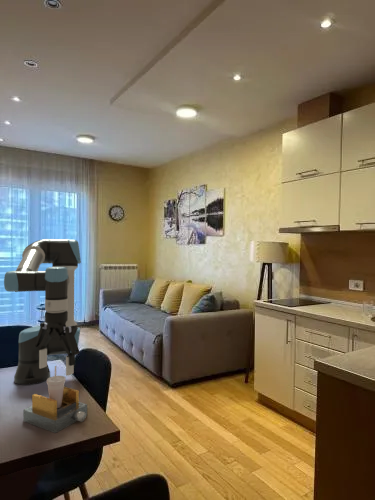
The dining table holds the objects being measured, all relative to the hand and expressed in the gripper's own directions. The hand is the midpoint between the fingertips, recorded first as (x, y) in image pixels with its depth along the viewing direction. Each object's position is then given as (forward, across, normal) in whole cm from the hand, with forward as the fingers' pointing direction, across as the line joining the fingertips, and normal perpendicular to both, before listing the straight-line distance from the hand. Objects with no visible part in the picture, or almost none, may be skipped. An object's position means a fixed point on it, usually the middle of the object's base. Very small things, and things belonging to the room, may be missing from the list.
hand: (56, 370), depth 125 cm
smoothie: (+13, 0, 0) cm, 13 cm away
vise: (+17, +2, 0) cm, 17 cm away
